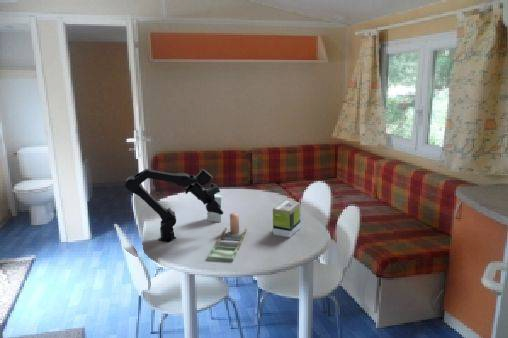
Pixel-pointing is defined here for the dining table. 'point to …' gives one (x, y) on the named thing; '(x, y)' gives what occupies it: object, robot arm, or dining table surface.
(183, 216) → the dining table surface
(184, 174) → the robot arm
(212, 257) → the frame
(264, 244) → the dining table surface
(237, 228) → the peach capsule
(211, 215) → the skincare box
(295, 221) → the tea box
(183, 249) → the dining table surface
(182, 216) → the dining table surface
